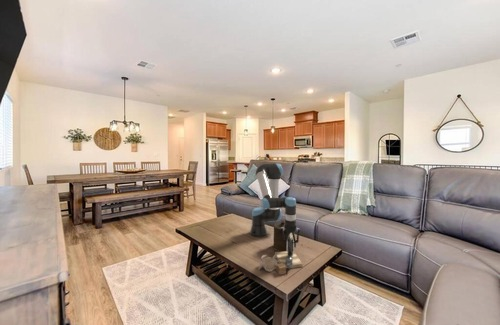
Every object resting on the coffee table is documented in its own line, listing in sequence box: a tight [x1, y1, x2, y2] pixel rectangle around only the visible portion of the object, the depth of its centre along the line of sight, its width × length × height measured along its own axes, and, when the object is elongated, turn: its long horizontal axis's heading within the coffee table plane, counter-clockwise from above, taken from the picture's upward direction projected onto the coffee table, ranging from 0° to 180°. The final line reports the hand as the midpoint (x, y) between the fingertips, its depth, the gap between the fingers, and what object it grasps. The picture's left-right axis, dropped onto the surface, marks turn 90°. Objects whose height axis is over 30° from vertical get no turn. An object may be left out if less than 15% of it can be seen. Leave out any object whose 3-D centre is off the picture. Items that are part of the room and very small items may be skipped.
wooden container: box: [272, 219, 294, 252], centre depth 170 cm, size 15×15×22 cm
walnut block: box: [275, 263, 287, 276], centre depth 138 cm, size 4×4×4 cm
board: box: [274, 251, 304, 269], centre depth 151 cm, size 20×14×2 cm
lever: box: [286, 239, 294, 269], centre depth 147 cm, size 19×4×11 cm, turn 166°
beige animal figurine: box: [258, 253, 280, 273], centre depth 143 cm, size 16×10×10 cm, turn 134°
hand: (290, 251), depth 154 cm, fingers closed on lever, 4 cm apart
